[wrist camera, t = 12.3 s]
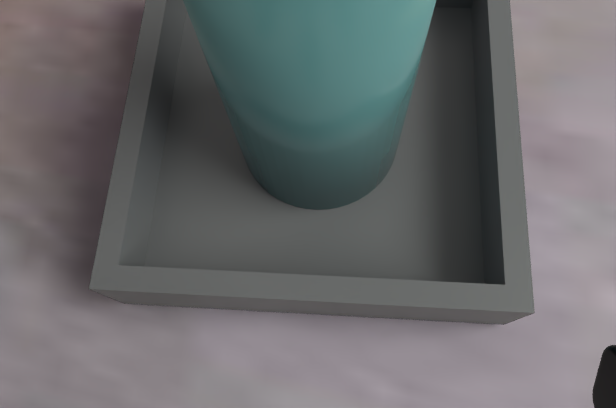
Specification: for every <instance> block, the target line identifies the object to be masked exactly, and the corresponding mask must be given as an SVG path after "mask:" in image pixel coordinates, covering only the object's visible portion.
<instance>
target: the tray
mask: <svg viewBox="0 0 616 408" xmlns="http://www.w3.org/2000/svg"><path fill="white" fill-rule="evenodd" d="M89 289H90V290H92V291H95V292H97V293H100V294H102V295H105V296H107V297H110V298H112V299H115V300H117V301H120V302H122V303H124V304H141V305H159V306H177V307H195V308H213V309H231V310H249V311H267V312H285V313H303V314H321V315H339V316H357V317H376V318H394V319H412V320H430V321H448V322H466V323H484V324H502V325H504V324H507V323H509V322H512V321H515V320H517V319H520V318H523V317H525V316H528V315H531V314H533V313H534V300H533V287H532V275H531V262H530V250H529V237H528V224H527V212H526V199H525V186H524V174H523V161H522V149H521V136H520V123H519V111H518V98H517V86H516V73H515V60H514V48H513V35H512V23H511V10H510V0H436V3H435V7H434V11H433V15H432V18H431V22H430V26H429V30H428V34H427V37H426V41H425V45H424V49H423V53H422V57H421V60H420V64H419V68H418V72H417V76H416V79H415V83H414V87H413V91H412V95H411V99H410V102H409V106H408V110H407V114H406V118H405V121H404V125H403V129H402V133H401V137H400V141H399V144H398V148H397V152H396V156H395V158H394V161H393V164H392V166H391V168H390V170H389V172H388V173H387V175H386V176H385V178H384V179H383V181H382V182H381V183H380V184H379V185H378V186H377V187H376V188H375V189H374V190H372V191H371V192H370V193H369V194H368V195H366V196H364V197H363V198H361V199H359V200H357V201H355V202H353V203H351V204H348V205H345V206H342V207H338V208H333V209H324V210H314V209H304V208H299V207H295V206H292V205H289V204H286V203H284V202H282V201H280V200H278V199H277V198H275V197H274V196H272V195H271V194H269V193H268V192H267V191H266V190H264V189H263V188H262V187H261V186H260V185H259V183H258V182H257V181H256V180H255V179H254V177H253V176H252V174H251V172H250V171H249V169H248V166H247V164H246V162H245V159H244V157H243V154H242V151H241V149H240V146H239V144H238V141H237V139H236V136H235V133H234V131H233V128H232V126H231V123H230V121H229V118H228V115H227V113H226V110H225V108H224V105H223V103H222V100H221V97H220V95H219V92H218V90H217V87H216V85H215V82H214V79H213V77H212V74H211V72H210V69H209V67H208V64H207V61H206V59H205V56H204V54H203V51H202V48H201V46H200V43H199V41H198V38H197V36H196V33H195V30H194V28H193V25H192V23H191V20H190V18H189V15H188V12H187V10H186V7H185V5H184V2H183V0H146V2H145V7H144V12H143V17H142V22H141V27H140V32H139V37H138V43H137V48H136V53H135V58H134V63H133V68H132V73H131V78H130V83H129V88H128V93H127V98H126V103H125V108H124V113H123V118H122V123H121V129H120V134H119V139H118V144H117V149H116V154H115V159H114V164H113V169H112V174H111V179H110V184H109V189H108V194H107V199H106V204H105V209H104V214H103V220H102V225H101V230H100V235H99V240H98V245H97V250H96V255H95V260H94V265H93V270H92V275H91V280H90V285H89Z"/></svg>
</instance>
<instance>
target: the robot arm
mask: <svg viewBox="0 0 616 408" xmlns="http://www.w3.org/2000/svg"><path fill="white" fill-rule="evenodd" d="M593 403H594V407H595V408H616V345H611V346H608V347H607V348H606V349H605V350H604V352H603V354H602V357H601V361H600V365H599V368H598V372H597V376H596V379H595V383H594V387H593Z"/></svg>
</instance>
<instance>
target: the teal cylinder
mask: <svg viewBox="0 0 616 408" xmlns="http://www.w3.org/2000/svg"><path fill="white" fill-rule="evenodd" d="M183 2H184V5H185V7H186V10H187V12H188V15H189V18H190V20H191V23H192V25H193V28H194V30H195V33H196V36H197V38H198V41H199V43H200V46H201V48H202V51H203V54H204V56H205V59H206V61H207V64H208V67H209V69H210V72H211V74H212V77H213V79H214V82H215V85H216V87H217V90H218V92H219V95H220V97H221V100H222V103H223V105H224V108H225V110H226V113H227V115H228V118H229V121H230V123H231V126H232V128H233V131H234V133H235V136H236V139H237V141H238V144H239V146H240V149H241V151H242V154H243V157H244V159H245V162H246V164H247V166H248V169H249V171H250V172H251V174H252V176H253V177H254V179H255V180H256V181H257V182H258V183H259V185H260V186H261V187H262V188H263V189H264V190H266V191H267V192H268V193H269V194H271V195H272V196H274V197H275V198H277V199H278V200H280V201H282V202H284V203H286V204H289V205H292V206H295V207H299V208H304V209H314V210H324V209H333V208H338V207H342V206H345V205H348V204H351V203H353V202H355V201H357V200H359V199H361V198H363V197H364V196H366V195H368V194H369V193H370V192H371V191H372V190H374V189H375V188H376V187H377V186H378V185H379V184H380V183H381V182H382V181H383V179H384V178H385V176H386V175H387V173H388V172H389V170H390V168H391V166H392V164H393V161H394V158H395V156H396V152H397V148H398V144H399V141H400V137H401V133H402V129H403V125H404V121H405V118H406V114H407V110H408V106H409V102H410V99H411V95H412V91H413V87H414V83H415V79H416V76H417V72H418V68H419V64H420V60H421V57H422V53H423V49H424V45H425V41H426V37H427V34H428V30H429V26H430V22H431V18H432V15H433V11H434V7H435V3H436V0H183Z"/></svg>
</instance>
